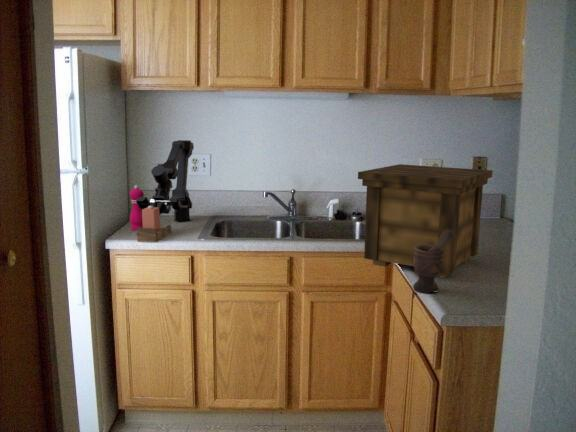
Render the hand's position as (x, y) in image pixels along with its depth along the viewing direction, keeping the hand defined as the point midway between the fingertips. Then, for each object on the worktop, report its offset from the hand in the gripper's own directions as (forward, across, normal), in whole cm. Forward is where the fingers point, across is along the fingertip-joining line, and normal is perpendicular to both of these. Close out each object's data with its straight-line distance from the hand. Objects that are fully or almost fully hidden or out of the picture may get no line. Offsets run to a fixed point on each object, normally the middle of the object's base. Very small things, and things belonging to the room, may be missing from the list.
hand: (154, 219), depth 219 cm
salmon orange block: (+6, 0, -1) cm, 6 cm away
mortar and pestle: (+42, -108, +31) cm, 120 cm away
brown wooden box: (+5, 0, -5) cm, 7 cm away
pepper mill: (-4, +13, -15) cm, 20 cm away
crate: (+20, -108, +9) cm, 110 cm away
